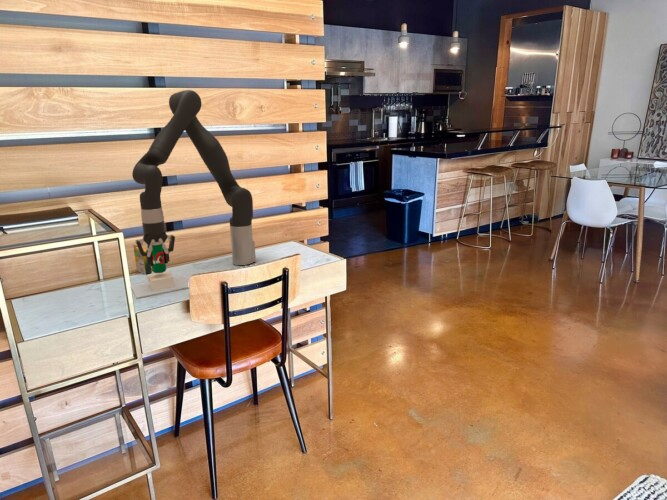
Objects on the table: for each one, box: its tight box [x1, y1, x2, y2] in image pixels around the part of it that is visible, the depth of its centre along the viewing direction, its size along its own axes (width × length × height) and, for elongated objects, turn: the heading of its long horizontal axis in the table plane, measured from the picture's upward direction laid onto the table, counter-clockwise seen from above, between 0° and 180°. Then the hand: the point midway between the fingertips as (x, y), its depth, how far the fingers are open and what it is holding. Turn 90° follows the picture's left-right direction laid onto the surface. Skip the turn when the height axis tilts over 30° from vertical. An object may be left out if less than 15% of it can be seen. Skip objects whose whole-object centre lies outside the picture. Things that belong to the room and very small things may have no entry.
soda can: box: [150, 241, 167, 274], centre depth 172 cm, size 5×5×12 cm
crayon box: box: [132, 244, 153, 276], centre depth 191 cm, size 7×3×12 cm, turn 50°
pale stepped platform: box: [131, 270, 189, 300], centre depth 175 cm, size 20×14×5 cm
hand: (158, 264), depth 173 cm, fingers closed on soda can, 5 cm apart
